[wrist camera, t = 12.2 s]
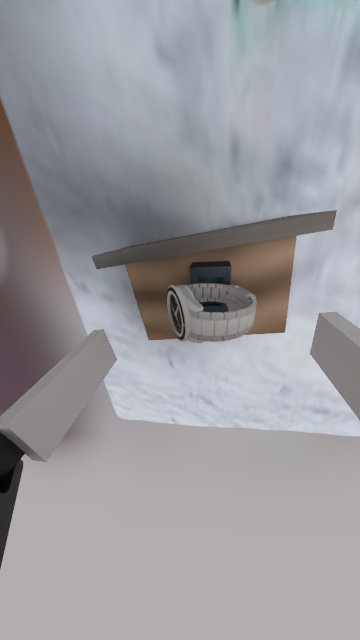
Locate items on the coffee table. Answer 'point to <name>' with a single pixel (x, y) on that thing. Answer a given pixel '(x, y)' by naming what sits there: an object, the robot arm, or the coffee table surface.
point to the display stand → (220, 245)
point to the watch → (210, 305)
